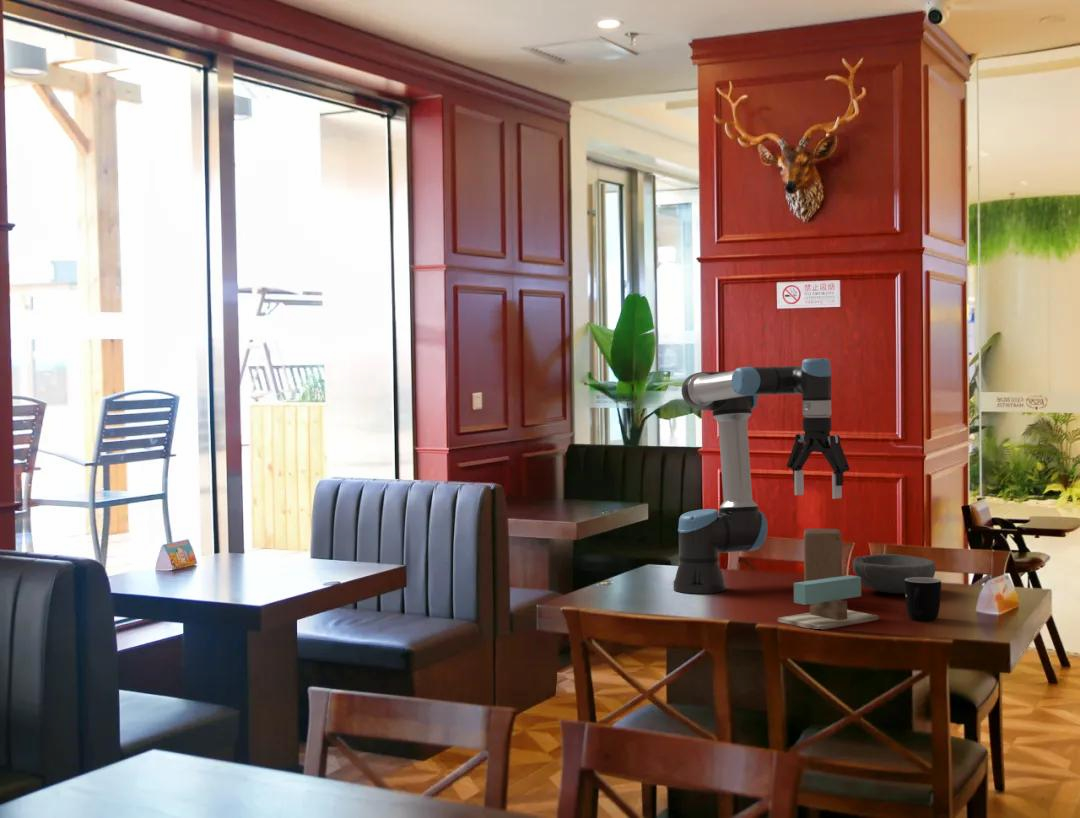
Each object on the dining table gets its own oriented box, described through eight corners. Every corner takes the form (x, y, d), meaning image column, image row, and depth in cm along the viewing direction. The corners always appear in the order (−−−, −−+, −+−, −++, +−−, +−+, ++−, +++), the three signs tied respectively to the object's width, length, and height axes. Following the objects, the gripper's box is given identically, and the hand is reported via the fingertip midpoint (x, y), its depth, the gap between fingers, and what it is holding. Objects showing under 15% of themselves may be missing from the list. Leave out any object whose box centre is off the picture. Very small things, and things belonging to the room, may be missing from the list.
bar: (793, 602, 318) (793, 582, 318) (849, 594, 329) (849, 575, 329) (805, 604, 315) (805, 584, 315) (861, 596, 326) (861, 577, 326)
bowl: (906, 603, 345) (906, 566, 345) (838, 593, 362) (837, 558, 362) (951, 592, 361) (951, 557, 360) (883, 583, 378) (883, 550, 377)
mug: (909, 614, 329) (909, 576, 328) (945, 617, 324) (944, 578, 324) (897, 622, 318) (897, 582, 318) (933, 625, 314) (933, 585, 314)
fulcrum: (777, 621, 322) (777, 600, 322) (837, 611, 334) (837, 591, 334) (818, 630, 311) (817, 608, 310) (878, 619, 323) (878, 598, 323)
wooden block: (842, 606, 342) (841, 532, 342) (804, 605, 344) (804, 532, 344) (841, 599, 352) (840, 528, 352) (804, 599, 354) (803, 528, 354)
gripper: (773, 416, 342) (774, 494, 342) (842, 417, 321) (843, 500, 321) (793, 415, 346) (794, 492, 346) (862, 417, 325) (863, 498, 326)
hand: (817, 496), depth 334 cm, fingers open, 13 cm apart
